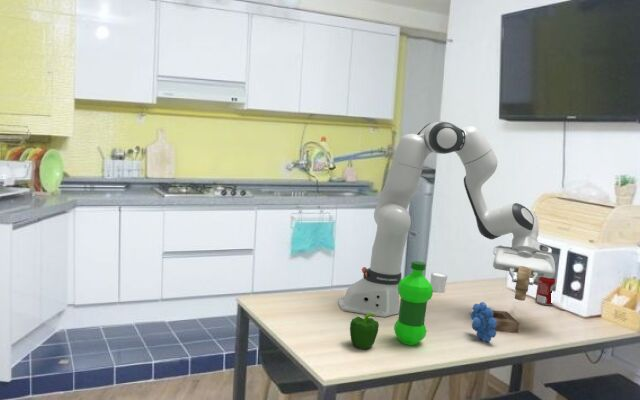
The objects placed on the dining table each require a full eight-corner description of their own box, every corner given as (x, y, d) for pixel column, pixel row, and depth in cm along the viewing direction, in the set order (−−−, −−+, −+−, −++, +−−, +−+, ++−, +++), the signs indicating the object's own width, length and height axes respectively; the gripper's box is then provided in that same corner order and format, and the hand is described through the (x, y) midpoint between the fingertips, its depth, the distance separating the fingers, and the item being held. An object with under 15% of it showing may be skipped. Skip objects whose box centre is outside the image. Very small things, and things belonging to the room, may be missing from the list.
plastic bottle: (421, 336, 174) (431, 260, 171) (428, 349, 164) (439, 268, 161) (389, 333, 174) (399, 257, 171) (395, 346, 163) (405, 265, 160)
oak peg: (516, 300, 185) (521, 268, 184) (511, 296, 190) (516, 265, 188) (528, 301, 186) (533, 270, 184) (523, 297, 190) (528, 267, 188)
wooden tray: (483, 329, 187) (484, 319, 187) (473, 317, 199) (474, 308, 199) (517, 332, 188) (519, 323, 187) (505, 320, 200) (507, 311, 199)
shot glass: (447, 291, 232) (449, 275, 231) (442, 294, 226) (444, 277, 225) (432, 287, 236) (434, 271, 235) (426, 290, 230) (428, 274, 229)
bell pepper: (348, 350, 157) (352, 316, 156) (347, 339, 166) (351, 307, 164) (377, 353, 157) (381, 319, 156) (374, 342, 166) (378, 310, 164)
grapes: (458, 333, 181) (463, 298, 180) (474, 332, 184) (479, 297, 183) (482, 347, 171) (488, 310, 169) (499, 345, 174) (504, 309, 172)
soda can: (544, 306, 223) (549, 278, 222) (531, 301, 229) (535, 273, 228) (555, 305, 227) (560, 277, 225) (542, 300, 233) (547, 273, 231)
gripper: (495, 239, 195) (492, 272, 186) (556, 249, 190) (556, 283, 181) (492, 249, 199) (489, 282, 191) (552, 259, 195) (551, 293, 186)
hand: (522, 282), depth 186 cm, fingers closed on oak peg, 4 cm apart
